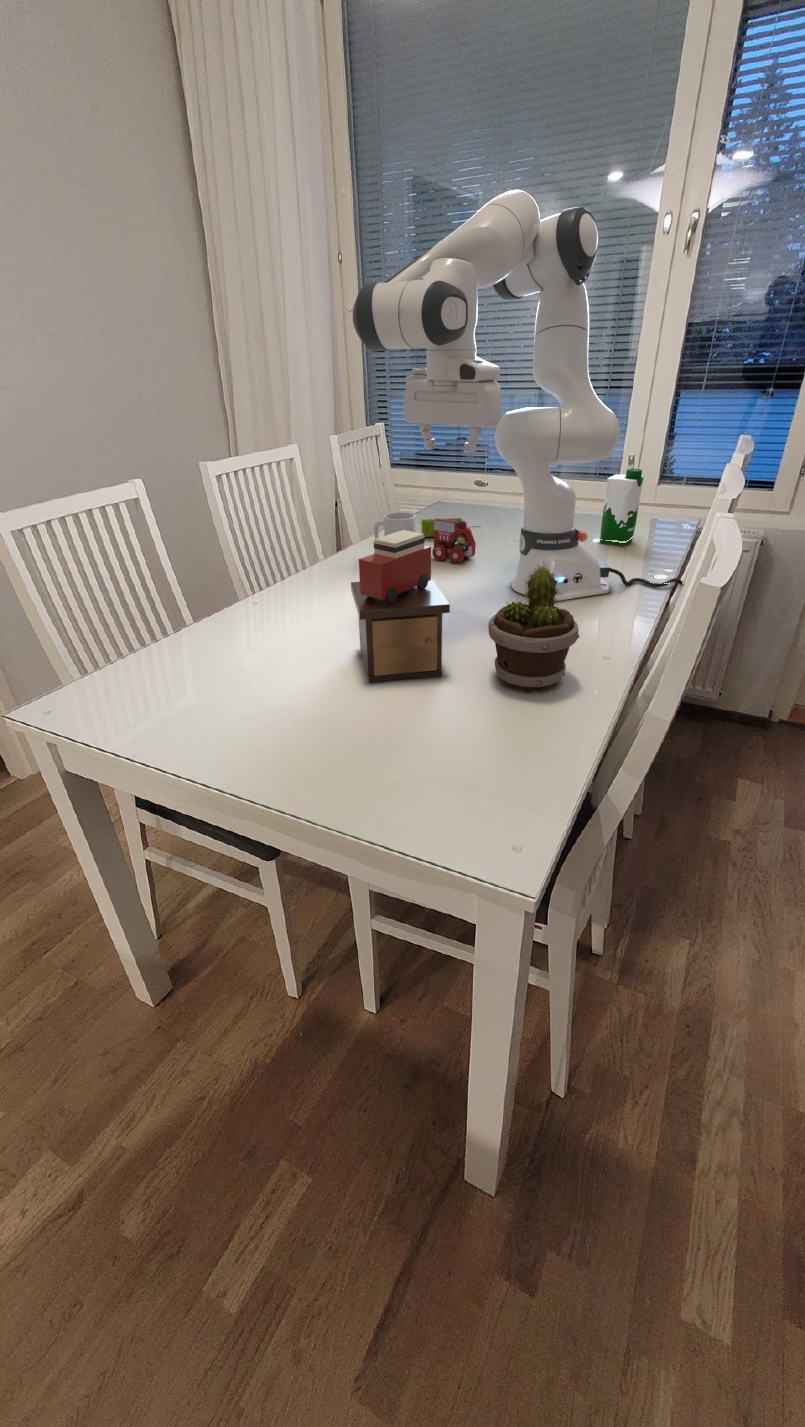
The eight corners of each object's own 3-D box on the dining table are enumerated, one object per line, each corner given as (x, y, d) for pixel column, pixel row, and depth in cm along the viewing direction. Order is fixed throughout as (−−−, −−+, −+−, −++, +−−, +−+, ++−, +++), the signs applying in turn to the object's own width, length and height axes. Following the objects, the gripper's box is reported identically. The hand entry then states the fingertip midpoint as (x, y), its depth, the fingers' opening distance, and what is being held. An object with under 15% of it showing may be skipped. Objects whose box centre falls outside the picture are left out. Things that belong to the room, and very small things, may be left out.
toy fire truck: (467, 565, 169) (469, 525, 164) (426, 559, 175) (427, 520, 170) (479, 559, 174) (481, 520, 169) (439, 552, 180) (439, 514, 175)
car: (408, 580, 117) (407, 527, 112) (431, 585, 114) (432, 532, 109) (359, 599, 109) (356, 543, 104) (383, 606, 105) (381, 549, 101)
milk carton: (626, 547, 181) (637, 473, 171) (595, 543, 186) (604, 470, 176) (636, 540, 187) (648, 468, 177) (606, 536, 192) (616, 465, 182)
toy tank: (419, 516, 196) (422, 516, 186) (480, 514, 197) (486, 514, 187) (419, 540, 198) (423, 541, 188) (480, 538, 199) (486, 539, 189)
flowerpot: (555, 707, 103) (570, 586, 93) (470, 685, 110) (474, 571, 100) (585, 672, 113) (600, 561, 103) (505, 654, 120) (512, 548, 110)
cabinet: (430, 643, 125) (431, 576, 119) (449, 679, 112) (450, 605, 105) (354, 650, 123) (350, 582, 117) (363, 687, 110) (359, 612, 103)
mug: (420, 553, 179) (420, 513, 174) (407, 561, 173) (407, 520, 167) (382, 549, 184) (380, 510, 178) (368, 557, 177) (366, 516, 172)
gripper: (395, 368, 119) (397, 448, 126) (488, 369, 108) (484, 457, 114) (416, 367, 123) (417, 445, 130) (508, 368, 112) (503, 453, 119)
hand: (449, 451), depth 122 cm, fingers open, 8 cm apart
